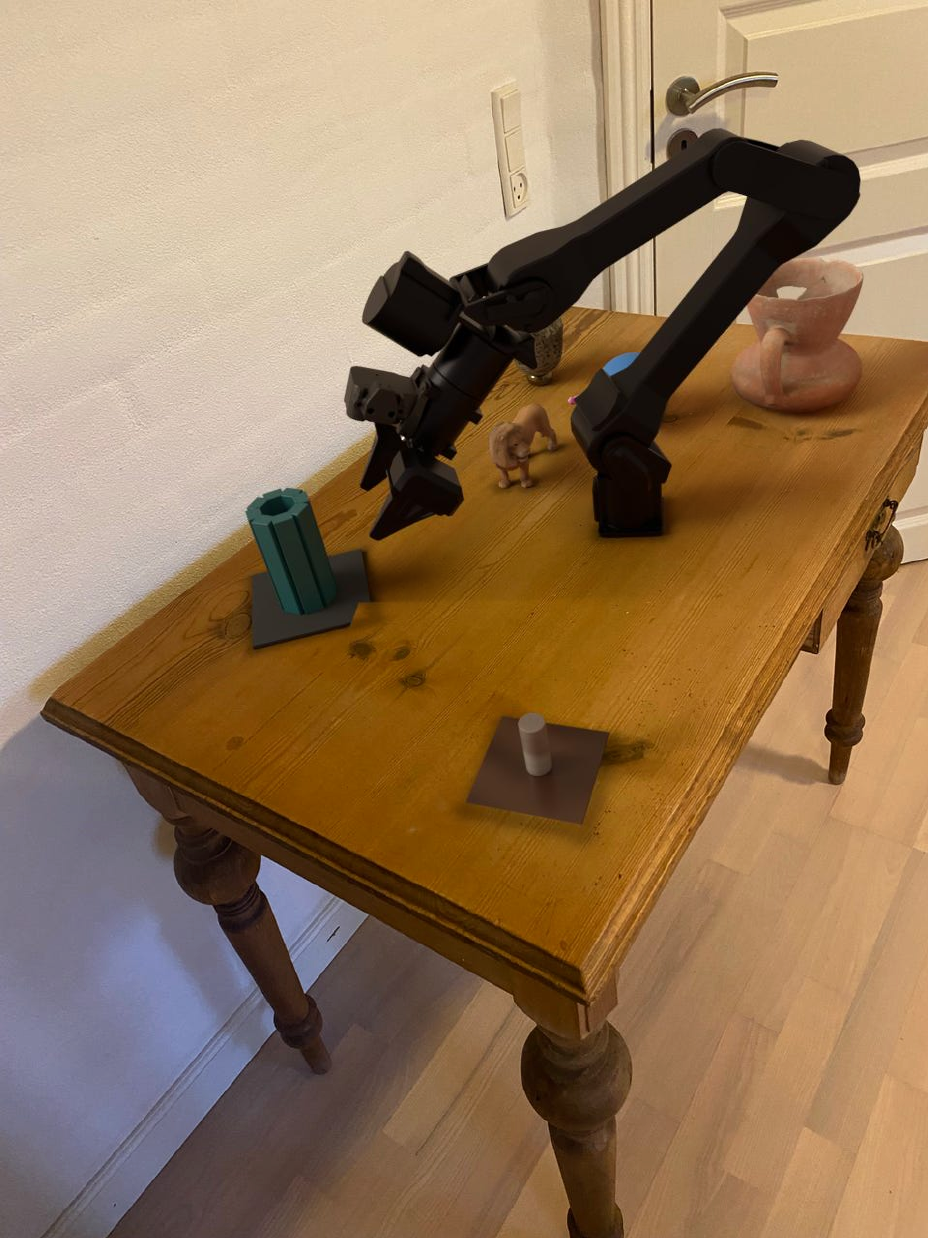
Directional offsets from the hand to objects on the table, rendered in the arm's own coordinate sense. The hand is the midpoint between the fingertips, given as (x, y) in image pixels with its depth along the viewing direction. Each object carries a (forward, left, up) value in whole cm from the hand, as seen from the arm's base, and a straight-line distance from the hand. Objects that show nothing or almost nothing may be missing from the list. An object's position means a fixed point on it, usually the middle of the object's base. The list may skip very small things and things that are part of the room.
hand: (368, 512), depth 86 cm
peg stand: (-19, +25, -8) cm, 32 cm away
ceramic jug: (-43, -33, -8) cm, 55 cm away
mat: (+7, +3, -8) cm, 11 cm away
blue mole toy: (-23, -29, -8) cm, 38 cm away
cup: (-12, -42, -8) cm, 44 cm away
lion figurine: (-13, -19, -8) cm, 24 cm away
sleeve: (+7, +3, -8) cm, 11 cm away
